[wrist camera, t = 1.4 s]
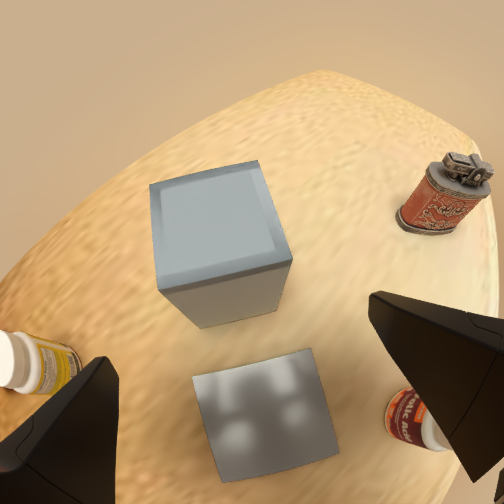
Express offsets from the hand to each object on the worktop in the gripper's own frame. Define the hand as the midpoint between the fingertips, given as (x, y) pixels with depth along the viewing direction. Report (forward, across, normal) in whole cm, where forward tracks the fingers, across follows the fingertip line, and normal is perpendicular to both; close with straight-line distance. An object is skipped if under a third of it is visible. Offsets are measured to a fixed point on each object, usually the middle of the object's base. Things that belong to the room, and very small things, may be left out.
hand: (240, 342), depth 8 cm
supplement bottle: (+10, +17, +8) cm, 21 cm away
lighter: (+14, -21, +4) cm, 26 cm away
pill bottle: (+3, -11, +15) cm, 19 cm away
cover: (+13, 0, +4) cm, 14 cm away
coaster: (+5, 0, +12) cm, 13 cm away
